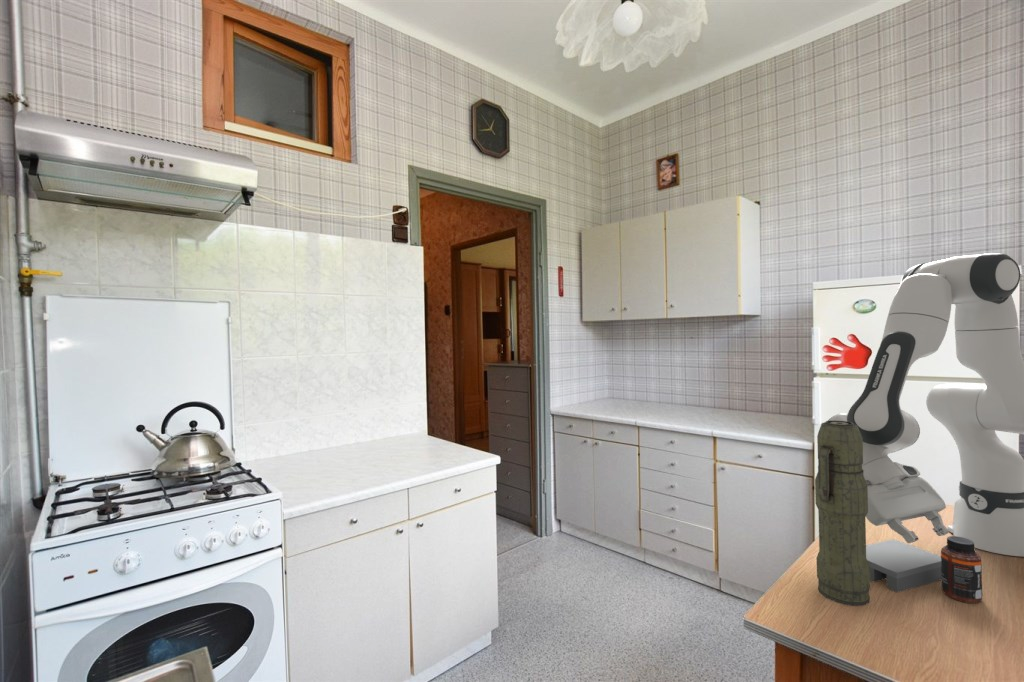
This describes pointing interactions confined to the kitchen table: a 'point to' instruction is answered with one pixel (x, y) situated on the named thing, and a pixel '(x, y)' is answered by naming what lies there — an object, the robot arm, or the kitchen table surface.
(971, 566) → the supplement bottle
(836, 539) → the thermos
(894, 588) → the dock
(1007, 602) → the kitchen table surface
